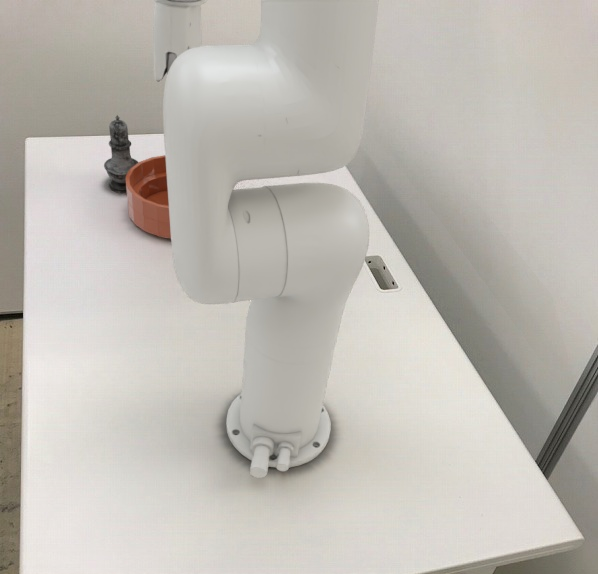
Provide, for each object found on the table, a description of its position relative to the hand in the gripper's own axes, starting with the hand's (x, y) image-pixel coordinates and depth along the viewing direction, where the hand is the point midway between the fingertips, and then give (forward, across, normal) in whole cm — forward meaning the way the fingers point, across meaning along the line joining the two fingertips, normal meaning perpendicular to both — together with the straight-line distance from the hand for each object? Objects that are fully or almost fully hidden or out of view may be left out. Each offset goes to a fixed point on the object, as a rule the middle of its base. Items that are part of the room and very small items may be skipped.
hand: (182, 123), depth 97 cm
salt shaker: (+14, -4, -11) cm, 18 cm away
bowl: (+14, +2, 0) cm, 14 cm away
